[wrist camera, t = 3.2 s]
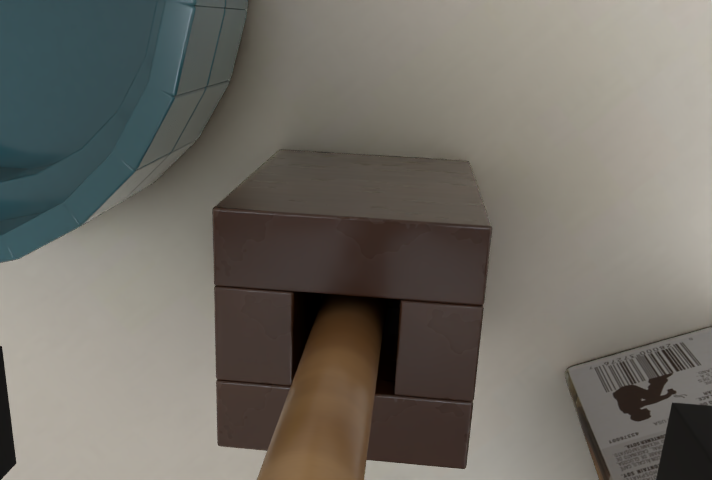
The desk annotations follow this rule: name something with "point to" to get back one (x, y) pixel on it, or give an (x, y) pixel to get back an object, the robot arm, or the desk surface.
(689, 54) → the desk surface
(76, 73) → the bowl
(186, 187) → the desk surface
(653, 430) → the coffee box
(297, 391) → the stirring stick
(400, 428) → the utensil block
